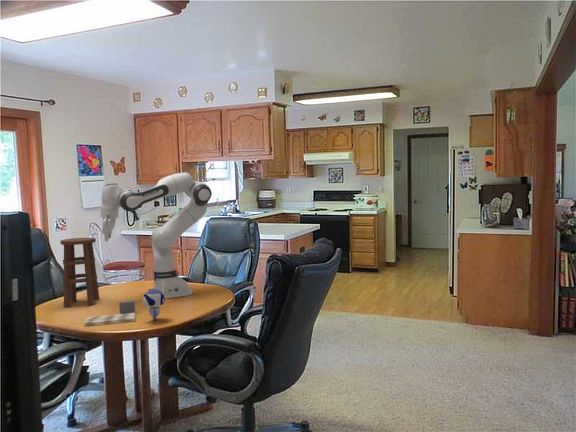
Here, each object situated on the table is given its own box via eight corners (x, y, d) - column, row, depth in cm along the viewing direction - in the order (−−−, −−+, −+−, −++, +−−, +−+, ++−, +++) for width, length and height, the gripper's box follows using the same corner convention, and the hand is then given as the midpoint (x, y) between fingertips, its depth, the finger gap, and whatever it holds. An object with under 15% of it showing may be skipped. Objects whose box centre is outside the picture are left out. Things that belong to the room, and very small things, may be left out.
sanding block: (135, 311, 240) (134, 300, 240) (134, 313, 237) (134, 301, 236) (120, 313, 238) (119, 301, 238) (119, 315, 235) (119, 303, 234)
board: (135, 315, 233) (135, 312, 233) (134, 321, 223) (134, 318, 223) (87, 320, 227) (86, 317, 227) (84, 326, 217) (83, 323, 217)
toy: (163, 323, 219) (162, 290, 218) (141, 324, 218) (139, 291, 217) (167, 316, 229) (166, 285, 228) (146, 317, 229) (145, 286, 227)
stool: (84, 236, 272) (105, 238, 260) (88, 297, 274) (108, 301, 263) (50, 240, 256) (71, 242, 244) (55, 305, 258) (75, 310, 247)
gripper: (113, 216, 244) (111, 243, 246) (117, 212, 264) (116, 236, 266) (100, 215, 243) (98, 242, 244) (105, 211, 263) (104, 236, 264)
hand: (107, 239), depth 255 cm, fingers open, 8 cm apart
